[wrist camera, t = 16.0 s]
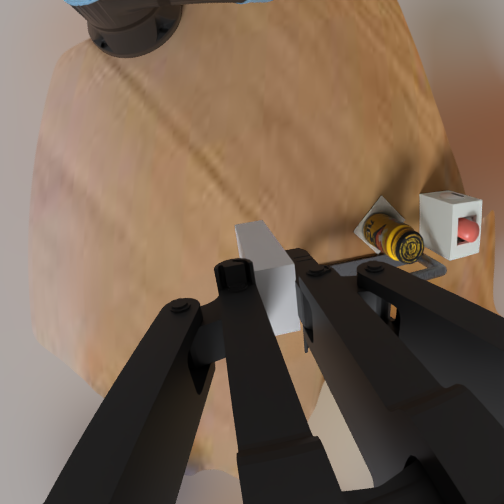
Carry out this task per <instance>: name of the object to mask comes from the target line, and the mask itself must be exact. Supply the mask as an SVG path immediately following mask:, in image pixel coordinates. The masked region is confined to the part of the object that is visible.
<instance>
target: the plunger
mask: <svg viewBox="0 0 504 504" xmlns="http://www.w3.org/2000/svg"><path fill="white" fill-rule="evenodd" d="M479 231H480V229H479V225H478V224H477V223H476V222H473V221H470V220H468V219H465V218H463V217H461V218H458V235H457V237H460V238H462V239H464V240H466V241H468V242H470V243H472V242H474V241H476V239H477V238H478V236H479Z"/></svg>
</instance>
